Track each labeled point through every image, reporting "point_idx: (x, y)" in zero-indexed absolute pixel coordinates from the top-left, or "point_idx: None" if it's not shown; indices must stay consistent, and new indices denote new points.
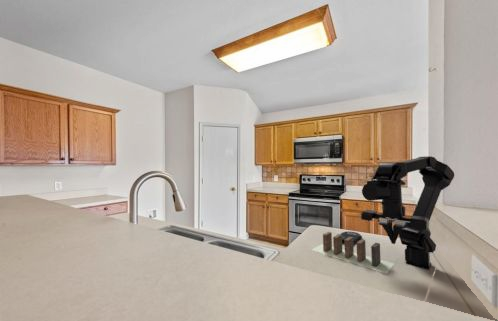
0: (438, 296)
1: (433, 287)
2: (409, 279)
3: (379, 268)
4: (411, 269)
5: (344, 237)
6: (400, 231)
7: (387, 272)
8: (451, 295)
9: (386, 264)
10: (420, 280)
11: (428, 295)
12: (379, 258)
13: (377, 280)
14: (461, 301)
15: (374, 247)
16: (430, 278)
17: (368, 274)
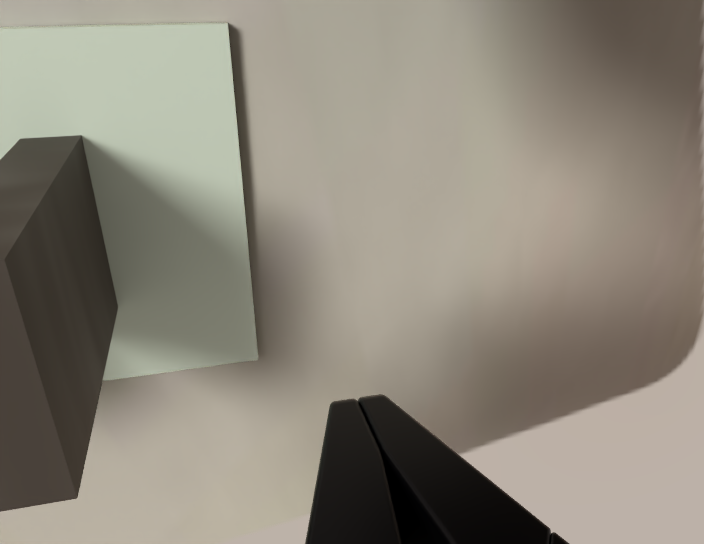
0: (592, 366)
1: (579, 270)
2: (424, 279)
3: (157, 310)
4: (415, 14)
5: None
6: None
7: (251, 330)
8: (665, 292)
9: (165, 142)
10: (500, 226)
11: (541, 400)
12: (79, 204)
13: (234, 482)
14: (698, 321)
15: (57, 492)
16: (575, 111)
17: (134, 458)
